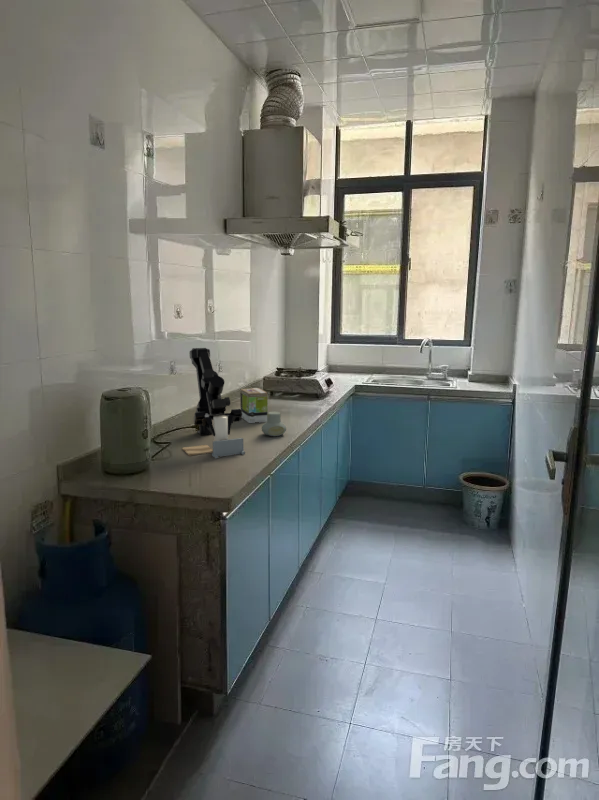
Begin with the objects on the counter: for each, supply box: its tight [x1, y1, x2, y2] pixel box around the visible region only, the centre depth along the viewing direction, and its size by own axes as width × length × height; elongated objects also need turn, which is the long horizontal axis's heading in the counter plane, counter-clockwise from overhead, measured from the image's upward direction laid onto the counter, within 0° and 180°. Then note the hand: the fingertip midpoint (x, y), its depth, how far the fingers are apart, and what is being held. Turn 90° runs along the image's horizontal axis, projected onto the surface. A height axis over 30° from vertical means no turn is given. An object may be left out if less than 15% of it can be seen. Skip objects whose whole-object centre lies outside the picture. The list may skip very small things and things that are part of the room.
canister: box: [212, 415, 229, 441], centre depth 210 cm, size 6×6×14 cm
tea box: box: [239, 387, 269, 424], centre depth 264 cm, size 15×10×15 cm, turn 22°
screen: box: [211, 437, 246, 459], centre depth 207 cm, size 4×12×6 cm, turn 117°
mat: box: [182, 444, 213, 457], centre depth 212 cm, size 10×10×1 cm
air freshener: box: [261, 411, 287, 437], centre depth 236 cm, size 11×8×10 cm
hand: (221, 435), depth 209 cm, fingers closed on canister, 5 cm apart
